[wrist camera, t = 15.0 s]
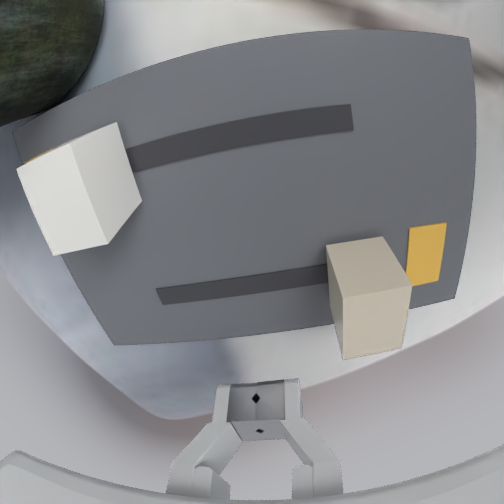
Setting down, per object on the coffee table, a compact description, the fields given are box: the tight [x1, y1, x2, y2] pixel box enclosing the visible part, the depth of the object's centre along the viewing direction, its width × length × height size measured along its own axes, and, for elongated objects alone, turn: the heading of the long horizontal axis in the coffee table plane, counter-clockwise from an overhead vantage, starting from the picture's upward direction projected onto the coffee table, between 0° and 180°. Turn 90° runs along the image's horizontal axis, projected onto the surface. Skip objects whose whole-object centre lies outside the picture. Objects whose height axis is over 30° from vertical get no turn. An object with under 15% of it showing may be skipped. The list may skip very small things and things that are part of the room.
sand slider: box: [326, 236, 412, 360], centre depth 14 cm, size 3×4×4 cm
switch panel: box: [12, 30, 476, 345], centre depth 16 cm, size 24×16×2 cm, turn 101°
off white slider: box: [16, 122, 142, 256], centre depth 12 cm, size 3×4×4 cm
